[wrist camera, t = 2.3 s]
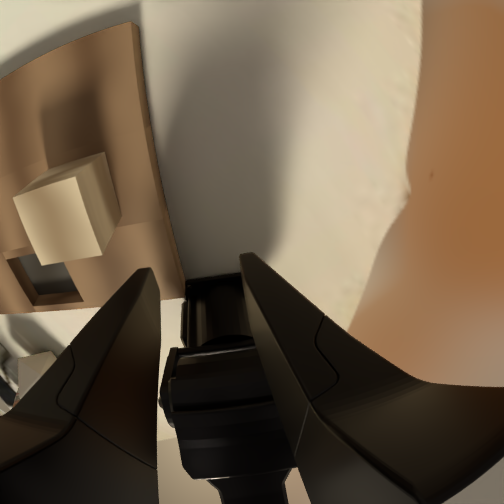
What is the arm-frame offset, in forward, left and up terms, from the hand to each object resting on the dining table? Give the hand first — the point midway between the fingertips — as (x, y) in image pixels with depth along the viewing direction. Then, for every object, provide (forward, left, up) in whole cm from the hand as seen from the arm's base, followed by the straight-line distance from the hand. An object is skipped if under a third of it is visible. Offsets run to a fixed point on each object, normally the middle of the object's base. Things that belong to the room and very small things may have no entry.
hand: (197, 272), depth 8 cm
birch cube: (+8, 0, -10) cm, 13 cm away
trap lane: (+19, 0, -12) cm, 22 cm away
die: (+25, +21, -12) cm, 35 cm away
